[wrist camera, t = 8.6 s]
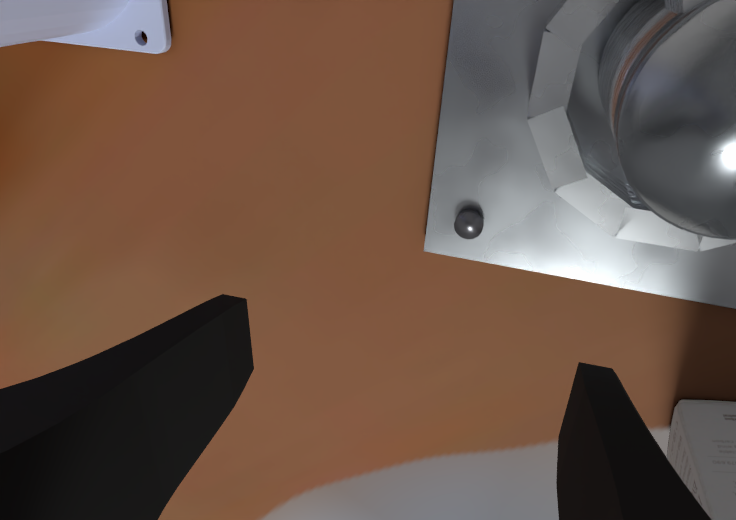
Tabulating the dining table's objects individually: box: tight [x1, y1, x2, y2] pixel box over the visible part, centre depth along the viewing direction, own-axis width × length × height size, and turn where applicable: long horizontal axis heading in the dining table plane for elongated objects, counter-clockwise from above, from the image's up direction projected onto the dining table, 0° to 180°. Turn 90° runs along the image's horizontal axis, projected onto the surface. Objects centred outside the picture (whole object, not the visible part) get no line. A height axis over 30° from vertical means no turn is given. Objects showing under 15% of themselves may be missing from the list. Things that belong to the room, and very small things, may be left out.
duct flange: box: [424, 0, 736, 309], centre depth 15 cm, size 14×14×2 cm
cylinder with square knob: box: [598, 0, 736, 240], centre depth 12 cm, size 5×7×6 cm
